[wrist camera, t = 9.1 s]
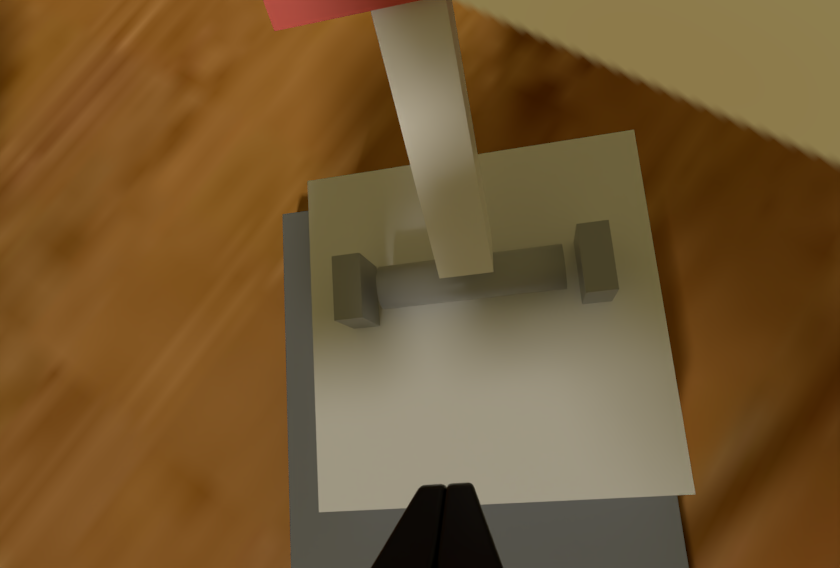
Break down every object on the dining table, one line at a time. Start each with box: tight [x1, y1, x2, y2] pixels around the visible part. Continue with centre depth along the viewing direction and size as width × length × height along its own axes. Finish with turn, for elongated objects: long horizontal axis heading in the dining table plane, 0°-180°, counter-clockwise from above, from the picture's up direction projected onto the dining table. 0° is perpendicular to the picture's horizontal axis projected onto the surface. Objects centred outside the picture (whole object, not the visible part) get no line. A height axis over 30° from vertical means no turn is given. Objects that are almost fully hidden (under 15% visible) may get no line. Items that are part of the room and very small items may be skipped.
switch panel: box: [283, 130, 695, 568], centre depth 17 cm, size 16×12×5 cm
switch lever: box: [263, 0, 567, 309], centre depth 13 cm, size 2×5×10 cm
